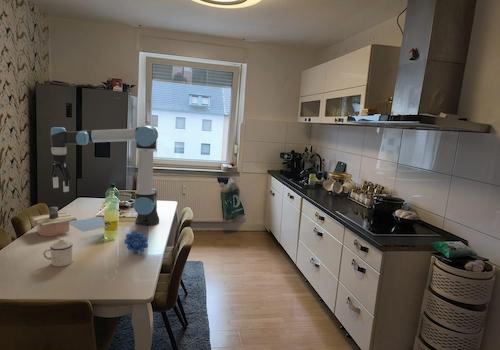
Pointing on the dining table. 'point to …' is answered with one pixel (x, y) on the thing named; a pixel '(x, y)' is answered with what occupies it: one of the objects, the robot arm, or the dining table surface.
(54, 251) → the teacup with lid
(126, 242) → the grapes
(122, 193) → the food container
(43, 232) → the terracotta bowl
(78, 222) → the slate mat
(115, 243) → the dining table surface
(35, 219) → the oak lid
